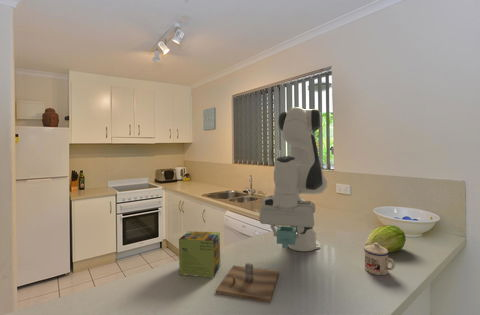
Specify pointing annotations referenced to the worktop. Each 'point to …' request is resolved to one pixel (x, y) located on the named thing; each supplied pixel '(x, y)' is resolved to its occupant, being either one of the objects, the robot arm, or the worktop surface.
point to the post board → (249, 283)
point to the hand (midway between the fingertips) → (286, 236)
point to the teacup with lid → (377, 259)
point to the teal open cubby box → (286, 236)
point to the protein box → (199, 253)
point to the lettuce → (387, 238)
